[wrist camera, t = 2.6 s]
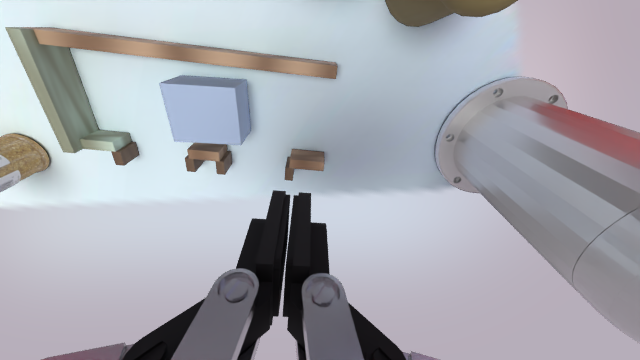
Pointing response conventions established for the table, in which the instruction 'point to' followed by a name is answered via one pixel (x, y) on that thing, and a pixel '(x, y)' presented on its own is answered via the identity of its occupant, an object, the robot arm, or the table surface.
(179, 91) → the block
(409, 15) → the cork
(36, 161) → the sprinkles bottle
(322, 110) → the table surface
